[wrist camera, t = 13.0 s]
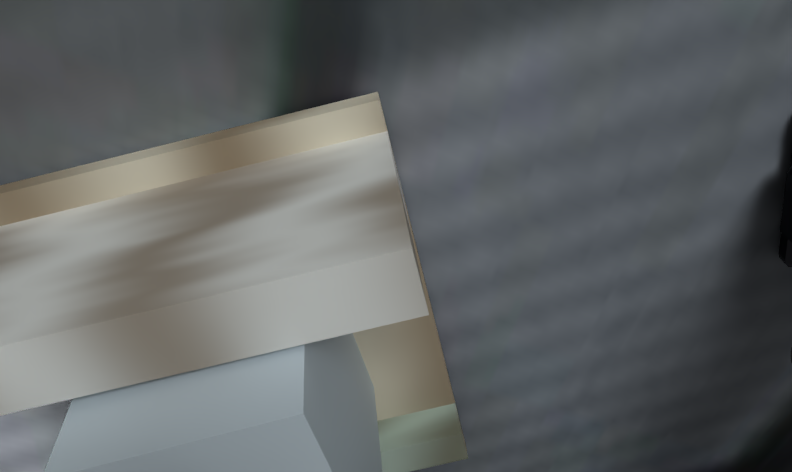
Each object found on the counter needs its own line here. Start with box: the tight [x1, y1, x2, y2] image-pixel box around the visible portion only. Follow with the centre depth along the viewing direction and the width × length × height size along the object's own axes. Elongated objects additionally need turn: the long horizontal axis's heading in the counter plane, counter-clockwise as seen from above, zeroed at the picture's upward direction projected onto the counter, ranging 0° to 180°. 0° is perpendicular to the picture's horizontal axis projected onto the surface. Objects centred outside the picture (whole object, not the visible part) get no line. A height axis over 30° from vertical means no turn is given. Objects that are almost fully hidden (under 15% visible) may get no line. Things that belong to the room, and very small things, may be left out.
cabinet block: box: [44, 333, 382, 472], centre depth 20 cm, size 6×9×8 cm, turn 14°
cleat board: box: [0, 92, 468, 472], centre depth 22 cm, size 12×16×7 cm
